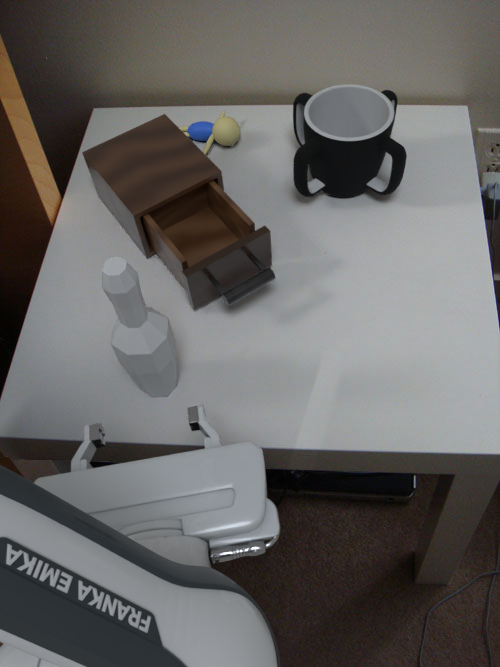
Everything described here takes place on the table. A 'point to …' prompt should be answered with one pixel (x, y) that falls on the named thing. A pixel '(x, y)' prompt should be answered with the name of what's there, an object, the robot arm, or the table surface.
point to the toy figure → (214, 131)
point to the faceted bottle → (139, 332)
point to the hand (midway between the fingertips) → (145, 417)
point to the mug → (346, 141)
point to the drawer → (210, 245)
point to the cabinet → (147, 173)
